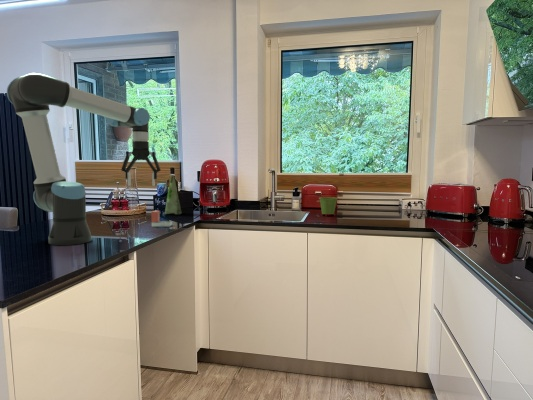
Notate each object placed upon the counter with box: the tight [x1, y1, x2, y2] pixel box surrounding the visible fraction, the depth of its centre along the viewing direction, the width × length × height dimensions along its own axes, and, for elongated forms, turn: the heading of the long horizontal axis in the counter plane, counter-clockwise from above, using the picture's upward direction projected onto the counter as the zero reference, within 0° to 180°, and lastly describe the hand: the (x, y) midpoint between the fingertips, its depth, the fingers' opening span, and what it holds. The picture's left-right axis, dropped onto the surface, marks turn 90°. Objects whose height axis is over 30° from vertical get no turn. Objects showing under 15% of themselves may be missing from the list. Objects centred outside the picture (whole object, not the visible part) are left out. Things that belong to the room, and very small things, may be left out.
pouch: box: [164, 173, 182, 215], centre depth 235 cm, size 11×12×25 cm
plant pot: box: [318, 196, 339, 215], centre depth 237 cm, size 12×12×11 cm
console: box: [151, 220, 173, 228], centre depth 192 cm, size 5×9×2 cm, turn 95°
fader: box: [150, 210, 161, 223], centre depth 191 cm, size 5×3×5 cm, turn 5°
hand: (141, 185), depth 189 cm, fingers open, 11 cm apart
